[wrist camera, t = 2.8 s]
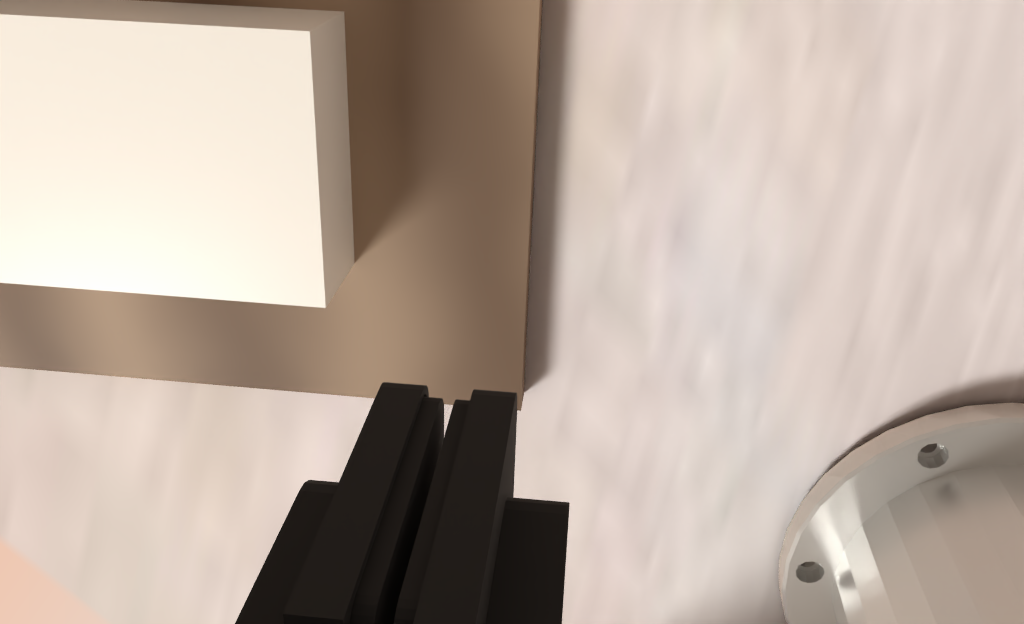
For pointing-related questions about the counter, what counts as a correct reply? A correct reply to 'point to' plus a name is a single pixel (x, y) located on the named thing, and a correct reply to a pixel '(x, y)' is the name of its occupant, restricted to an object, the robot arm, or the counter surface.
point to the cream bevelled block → (175, 149)
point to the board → (362, 232)
